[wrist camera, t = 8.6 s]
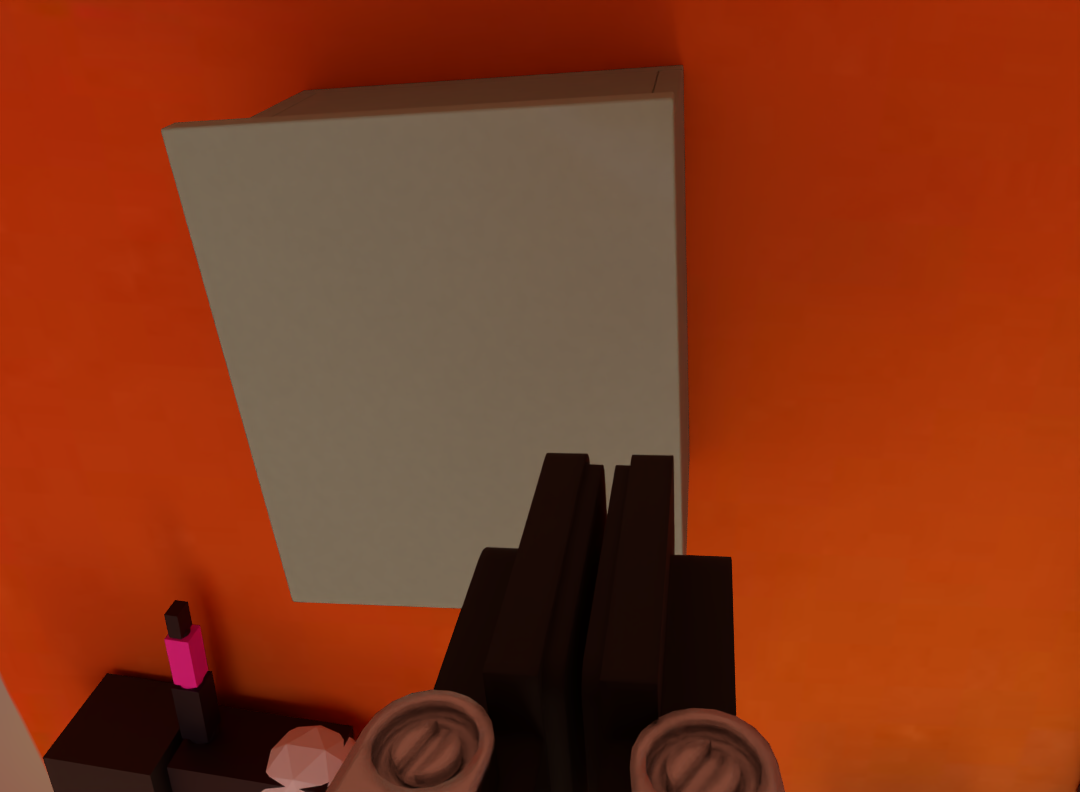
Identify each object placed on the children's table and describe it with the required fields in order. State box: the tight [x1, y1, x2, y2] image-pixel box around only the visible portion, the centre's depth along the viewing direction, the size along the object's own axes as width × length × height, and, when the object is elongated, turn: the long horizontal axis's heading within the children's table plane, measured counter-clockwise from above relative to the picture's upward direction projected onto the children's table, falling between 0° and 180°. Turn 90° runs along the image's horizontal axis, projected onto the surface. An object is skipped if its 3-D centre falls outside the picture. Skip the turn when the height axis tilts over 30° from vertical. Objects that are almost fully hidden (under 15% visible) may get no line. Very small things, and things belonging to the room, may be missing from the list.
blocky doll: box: [43, 600, 356, 792], centre depth 48 cm, size 22×25×6 cm
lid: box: [161, 92, 684, 608], centre depth 28 cm, size 16×14×1 cm
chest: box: [251, 65, 689, 555], centre depth 32 cm, size 16×14×9 cm
